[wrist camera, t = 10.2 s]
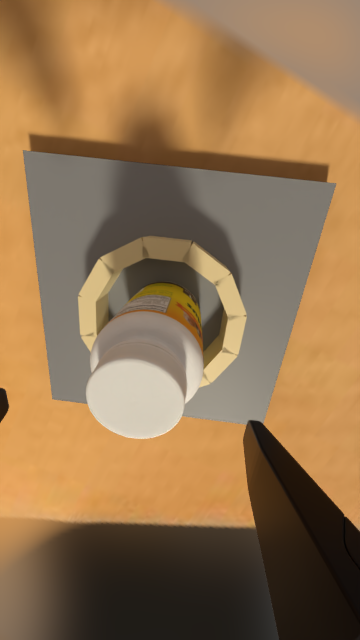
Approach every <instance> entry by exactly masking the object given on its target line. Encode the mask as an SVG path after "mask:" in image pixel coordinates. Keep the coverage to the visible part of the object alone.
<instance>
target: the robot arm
mask: <svg viewBox="0 0 360 640" xmlns="http://www.w3.org/2000/svg"><path fill="white" fill-rule="evenodd" d="M8 409H9V404H8V399H7V394H6V391H5V389H3V388H0V422H1V421H2V419H3V418H4V416H5V415H6V413H7V411H8ZM243 445H244V455H245V464H246V474H247V483H248V491H249V496H250V501H251V506H252V511H253V516H254V520H255V525H256V530H257V535H258V540H259V544H260V550H261V554H262V559H263V564H264V569H265V574H266V578H267V583H268V588H269V593H270V598H271V603H272V608H273V613H274V617H275V622H276V627H277V632H278V636H279V640H360V531H359V530H358V529H357V528H356V527H355V526H354V524H353V523H352V522H351V521H350V520H349V519H348V518H347V517H344V514H343V512H342V511H341V510H340V509H339V508H338V507H337V506H336V505H335V504H334V502H333V501H332V500H331V499H330V498H329V497H328V496H327V495H326V494H325V492H324V491H323V490H322V489H321V488H320V487H319V486H318V485H317V483H316V482H315V481H314V480H313V479H312V478H311V477H310V476H309V475H308V473H307V472H306V471H305V470H304V469H303V468H302V467H301V466H300V465H299V463H298V462H297V461H296V460H295V459H294V458H293V457H292V456H291V455H290V453H289V452H288V451H287V450H286V449H285V448H284V447H283V446H282V445H281V443H280V442H279V441H278V440H277V439H276V438H275V437H274V436H273V435H272V433H271V432H270V431H269V430H268V429H267V428H266V427H265V426H264V425H263V423H262V422H260V421H257V420H249V421H248V422H247V426H246V429H245V433H244V437H243Z"/></svg>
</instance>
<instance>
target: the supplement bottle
mask: <svg viewBox="0 0 360 640" xmlns="http://www.w3.org/2000/svg"><path fill="white" fill-rule="evenodd" d="M90 366H91V372H92V374H91V375H90V377H89V380H88V382H87V386H86V399H87V403H88V406H89V409H90V410H91V412H92V414H93V415H94V417H95V418H96V419H97V420H98V421H99V422H100V423H101V424H102V425H103V426H105V427H106V428H107V429H109V430H110V431H112V432H114V433H116V434H119V435H122V436H125V437H129V438H137V439H146V438H153V437H157V436H160V435H162V434H164V433H166V432H168V431H169V430H171V429H172V428H173V427H174V426H175V425H176V424H177V423H178V422H179V420H180V418H181V417H182V414H183V411H184V407H185V404H186V403H187V402H188V401H189V400H190V399H191V398H192V397H193V396H194V394H195V393H196V392H197V390H198V388H199V386H200V384H201V380H202V377H203V369H204V356H203V339H202V325H201V313H200V308H199V305H198V303H197V301H196V299H195V297H194V296H193V295H192V294H191V293H190V292H189V291H188V290H187V289H186V288H184V287H183V286H181V285H179V284H177V283H173V282H168V281H159V282H154V283H151V284H148V285H146V286H144V287H143V288H142V289H140V290H139V291H138V292H137V293H136V294H135V295H134V296H133V297H132V298H131V299H130V300H129V301H128V302H127V304H126V305H125V306H124V307H123V308H122V309H121V310H120V311H119V312H118V313H117V314H116V315H115V316H114V317H113V318H112V319H111V320H110V321H109V323H108V324H107V325H106V326H105V327H104V328H103V329H102V330H101V332H100V333H99V334H98V336H97V337H96V339H95V341H94V344H93V346H92V350H91V355H90Z"/></svg>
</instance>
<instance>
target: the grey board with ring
mask: <svg viewBox="0 0 360 640" xmlns="http://www.w3.org/2000/svg"><path fill="white" fill-rule="evenodd" d="M23 155H24V164H25V172H26V180H27V189H28V197H29V206H30V214H31V222H32V231H33V239H34V248H35V256H36V265H37V273H38V281H39V290H40V298H41V307H42V315H43V323H44V332H45V340H46V349H47V357H48V366H49V374H50V382H51V391H52V399H54V400H62V401H70V402H77V403H85V404H88V403H87V399H86V386H87V382H88V380H89V377H90V375H91V374H92V372H91V366H90V355H91V350H92V346H93V344H94V341H95V339H96V337H97V336H98V334H99V333H100V332H101V330H102V329H103V328H104V327H105V326H106V325H107V324H108V323H109V321H110V320H111V319H112V318H113V317H114V316H115V315H116V314H117V313H118V312H119V311H120V310H121V309H122V308H123V307H124V306H125V305H126V304H127V302H128V301H129V300H130V299H131V298H132V297H133V296H134V295H135V294H136V293H137V292H138V291H139V290H140V289H142V288H143V287H144V286H146V285H148V284H151V283H154V282H159V281H168V282H173V283H177V284H179V285H181V286H183V287H184V288H186V289H187V290H188V291H189V292H190V293H191V294H192V295H193V296H194V297H195V299H196V301H197V303H198V305H199V308H200V313H201V325H202V339H203V356H204V369H203V377H202V380H201V384H200V386H199V388H198V390H197V392H196V393H195V394H194V396H193V397H192V398H191V399H190V400H189V401H188V402H187V403H186V404H185V407H184V411H183V414H182V416H185V417H192V418H200V419H208V420H215V421H223V422H231V423H238V424H246V425H247V422H248V421H249V420H257V421H260V422H262V423H264V419H265V416H266V413H267V410H268V406H269V403H270V400H271V396H272V393H273V390H274V387H275V383H276V380H277V377H278V373H279V370H280V367H281V364H282V360H283V357H284V354H285V350H286V347H287V344H288V341H289V337H290V334H291V331H292V327H293V324H294V321H295V318H296V314H297V311H298V308H299V304H300V301H301V298H302V295H303V291H304V288H305V285H306V282H307V278H308V275H309V272H310V268H311V265H312V262H313V259H314V255H315V252H316V249H317V245H318V242H319V239H320V236H321V232H322V229H323V226H324V222H325V219H326V216H327V213H328V209H329V206H330V203H331V199H332V196H333V193H334V190H335V186H336V183H327V182H318V181H308V180H299V179H289V178H280V177H270V176H261V175H252V174H242V173H233V172H223V171H214V170H204V169H195V168H185V167H176V166H166V165H157V164H148V163H138V162H129V161H119V160H110V159H100V158H91V157H81V156H72V155H62V154H53V153H43V152H34V151H25V150H23Z"/></svg>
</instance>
